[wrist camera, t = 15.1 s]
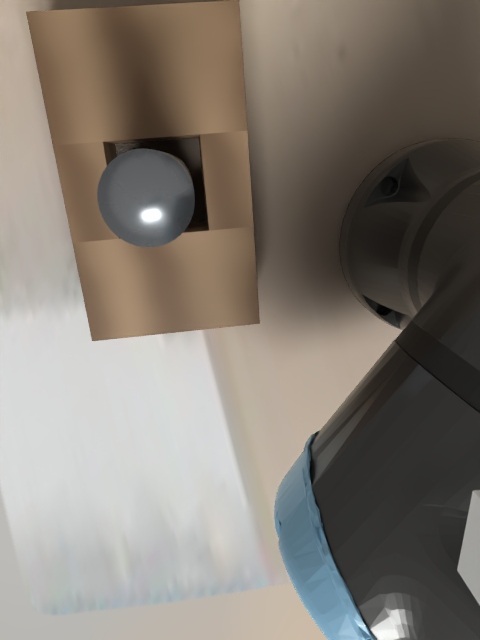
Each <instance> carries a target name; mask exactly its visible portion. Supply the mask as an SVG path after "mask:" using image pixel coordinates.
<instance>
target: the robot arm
mask: <svg viewBox="0 0 480 640" xmlns="http://www.w3.org/2000/svg"><path fill="white" fill-rule="evenodd" d="M340 259H341V265H342V269H343V273H344V276H345V279H346V281H347V283H348V285H349V287H350V289H351V291H352V292H353V294H354V295H355V297H356V298H357V299H358V300H359V301H360V302H361V303H362V305H364V306H365V307H366V308H367V309H368V310H369V311H370V312H372V313H373V314H374V315H375V316H376V317H378V318H379V319H381V320H382V321H384V322H385V323H387V324H389V325H391V326H393V327H396V328H398V329H401V330H403V331H402V332H401V334H400V335H399V336H398V337H397V338H396V340H394V341H393V342H392V344H391V345H390V346H389V347H388V348H387V350H386V351H385V352H384V353H383V355H382V356H381V357H380V358H379V359H378V361H377V362H376V363H375V364H374V366H373V367H372V368H371V369H370V370H369V372H368V373H367V374H366V375H365V377H364V378H363V379H362V380H361V381H360V383H359V384H358V385H357V386H356V388H355V389H354V390H353V391H352V392H351V394H350V395H349V396H348V397H347V399H346V400H345V401H344V402H343V403H342V405H341V406H340V407H339V408H338V410H337V411H336V412H335V413H334V414H333V416H332V417H331V418H330V419H329V421H328V422H327V423H326V424H325V425H324V427H323V428H322V429H321V430H320V431H317V432H316V433H315V434H312V435H311V436H310V438H309V439H308V441H307V442H306V444H305V448H304V451H303V452H302V454H301V455H300V457H299V458H298V459H297V461H296V462H295V463H294V465H293V466H292V468H291V469H290V470H289V472H288V473H287V474H286V476H285V477H284V479H283V480H282V482H281V484H280V486H279V489H278V492H277V495H276V500H275V506H274V519H275V528H276V531H277V534H278V537H279V549H280V552H281V555H282V558H283V562H284V564H285V567H286V570H287V572H288V574H289V577H290V579H291V581H292V583H293V585H294V587H295V589H296V591H297V593H298V595H299V597H300V598H301V601H302V602H303V604H304V605H305V607H306V609H307V610H308V612H309V614H310V615H311V617H312V618H313V620H314V621H315V623H316V624H317V626H318V627H319V628H320V630H321V631H322V632H323V633H324V635H325V636H326V638H327V639H328V640H480V142H478V141H473V140H468V139H439V140H430V141H425V142H421V143H417V144H414V145H411V146H409V147H406V148H404V149H402V150H400V151H398V152H396V153H395V154H393V155H391V156H390V157H388V158H387V159H386V160H384V161H383V162H382V163H380V164H379V165H378V166H377V167H376V168H375V169H374V170H373V171H372V172H371V173H370V174H369V175H368V176H367V177H366V178H365V180H364V181H363V182H362V184H361V185H360V186H359V188H358V189H357V191H356V193H355V194H354V196H353V198H352V200H351V202H350V204H349V206H348V209H347V211H346V214H345V217H344V220H343V224H342V229H341V235H340Z"/></svg>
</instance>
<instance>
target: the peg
mask: <svg viewBox="0 0 480 640" xmlns="http://www.w3.org/2000/svg"><path fill="white" fill-rule="evenodd" d="M97 199H98V206H99V210H100V213H101V215H102V218H103V219H104V221H105V223H106V224H107V226H108V227H109V228H110V230H111V231H112V232H113V233H114V234H115V235H117V236H118V237H119V238H121V239H122V240H124V241H126V242H128V243H130V244H133V245H135V246H140V247H158V246H162V245H165V244H167V243H170V242H172V241H173V240H175V239H176V238H177V237H179V236H180V235H181V234H182V233H183V232H184V231H185V229H186V228H187V226H188V225H189V223H190V221H191V218H192V216H193V212H194V206H195V195H194V188H193V181H192V176H191V173H190V171H189V169H188V167H187V166H186V164H185V163H184V162H183V161H182V160H181V159H179V158H178V157H176V156H175V155H172V154H169V153H165V152H161V151H157V150H153V149H133V150H130V151H126V152H124V153H122V154H120V155H119V156H117V157H116V158H114V159H113V160H112V161H111V162H110V163H109V164H108V165H107V167H106V168H105V170H104V171H103V173H102V175H101V178H100V181H99V184H98V190H97Z"/></svg>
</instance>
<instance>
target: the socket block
mask: <svg viewBox="0 0 480 640" xmlns="http://www.w3.org/2000/svg"><path fill="white" fill-rule="evenodd" d="M26 14H27V19H28V24H29V29H30V34H31V38H32V43H33V48H34V53H35V58H36V63H37V68H38V73H39V78H40V83H41V88H42V93H43V98H44V103H45V108H46V113H47V118H48V123H49V128H50V133H51V138H52V143H53V148H54V153H55V158H56V163H57V168H58V173H59V178H60V183H61V188H62V193H63V198H64V203H65V208H66V213H67V218H68V223H69V228H70V232H71V237H72V242H73V247H74V252H75V257H76V262H77V267H78V272H79V277H80V282H81V287H82V292H83V297H84V302H85V307H86V312H87V317H88V322H89V327H90V332H91V337H92V341H98V340H108V339H117V338H127V337H136V336H146V335H155V334H165V333H174V332H183V331H193V330H202V329H212V328H221V327H231V326H240V325H250V324H259V323H260V320H259V304H258V288H257V273H256V257H255V241H254V226H253V210H252V194H251V179H250V163H249V147H248V132H247V116H246V100H245V85H244V69H243V53H242V38H241V22H240V6H239V0H227V1H210V2H192V3H174V4H156V5H138V6H120V7H102V8H84V9H67V10H49V11H31V12H26ZM198 137H199V146H200V157H201V167H202V177H203V187H204V197H205V207H206V218H207V221H199V222H190V223H189V225H188V226H187V228H186V229H185V231H184V232H183V233H182V234H181V235H180V236H179V237H177V238H176V239H175V240H173V241H172V242H170V243H167V244H165V245H162V246H158V247H140V246H135V245H133V244H130V243H128V242H126V241H124V240H122V239H121V238H119V237H118V236H117V235H115V234H114V233H113V232H112V231H111V230H110V228H109V227H108V226H107V224H106V223H105V221H104V219H103V218H102V215H101V213H100V210H99V206H98V199H97V190H98V184H99V181H100V178H101V175H102V173H103V171H104V170H105V168H106V167H107V165H108V164H109V163H110V162H111V161H112V160H113V159H114V158H116V157H117V152H116V145H115V144H120V143H133V142H146V141H159V140H172V139H185V138H198Z"/></svg>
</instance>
